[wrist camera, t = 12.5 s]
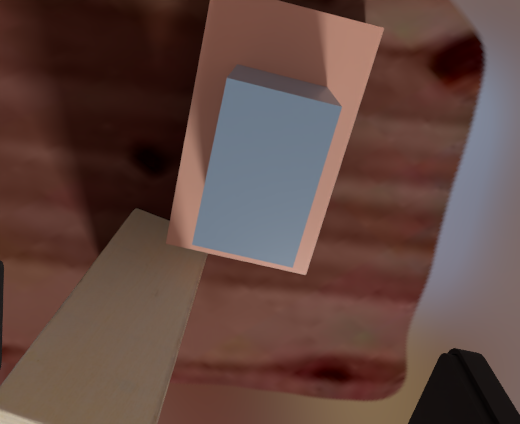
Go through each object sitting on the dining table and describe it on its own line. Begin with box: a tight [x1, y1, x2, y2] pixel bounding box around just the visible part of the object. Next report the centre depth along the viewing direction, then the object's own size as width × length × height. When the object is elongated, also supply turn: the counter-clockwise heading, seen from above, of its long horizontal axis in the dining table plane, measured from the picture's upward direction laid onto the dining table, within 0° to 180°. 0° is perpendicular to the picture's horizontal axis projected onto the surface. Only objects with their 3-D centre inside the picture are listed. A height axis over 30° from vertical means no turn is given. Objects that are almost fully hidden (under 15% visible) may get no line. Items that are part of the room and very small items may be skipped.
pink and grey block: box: [166, 0, 384, 275], centre depth 31 cm, size 15×10×8 cm, turn 167°
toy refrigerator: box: [0, 209, 208, 424], centre depth 29 cm, size 8×7×21 cm
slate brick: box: [192, 64, 342, 268], centre depth 24 cm, size 8×5×6 cm, turn 166°
